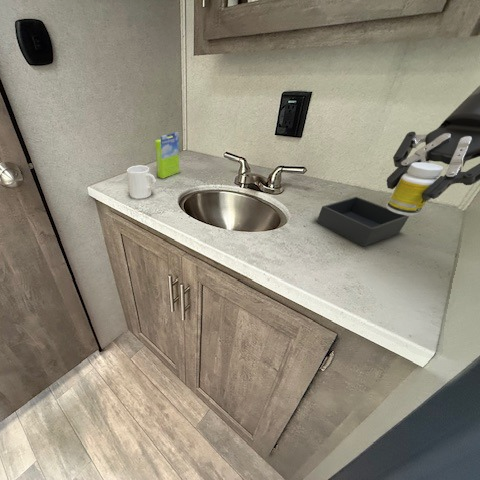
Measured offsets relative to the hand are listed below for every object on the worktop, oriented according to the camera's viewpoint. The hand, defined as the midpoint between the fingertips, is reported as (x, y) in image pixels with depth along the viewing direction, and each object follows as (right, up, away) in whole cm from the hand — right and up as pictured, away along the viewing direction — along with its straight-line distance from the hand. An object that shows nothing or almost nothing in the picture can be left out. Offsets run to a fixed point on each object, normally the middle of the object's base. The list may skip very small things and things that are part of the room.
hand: (406, 191), depth 43 cm
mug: (-49, +8, +49) cm, 70 cm away
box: (-40, +20, +65) cm, 79 cm away
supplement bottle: (+2, -3, +3) cm, 5 cm away
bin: (+10, -5, +23) cm, 26 cm away
